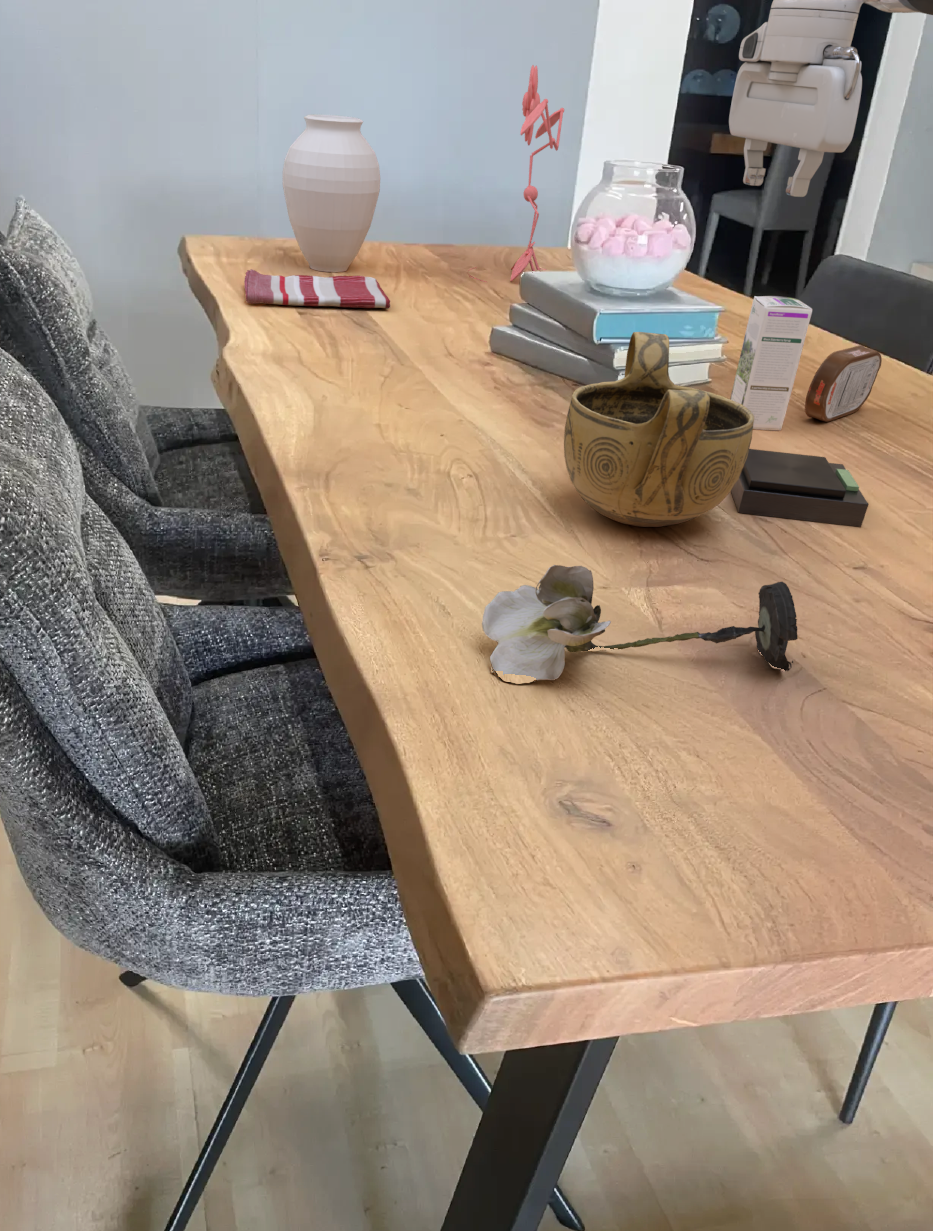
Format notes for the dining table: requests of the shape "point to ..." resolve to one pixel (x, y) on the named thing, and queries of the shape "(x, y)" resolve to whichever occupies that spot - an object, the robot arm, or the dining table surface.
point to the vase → (331, 190)
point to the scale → (798, 489)
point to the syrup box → (770, 358)
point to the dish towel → (315, 290)
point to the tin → (842, 383)
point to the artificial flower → (602, 624)
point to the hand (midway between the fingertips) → (773, 190)
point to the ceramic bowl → (653, 442)
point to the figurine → (532, 113)
